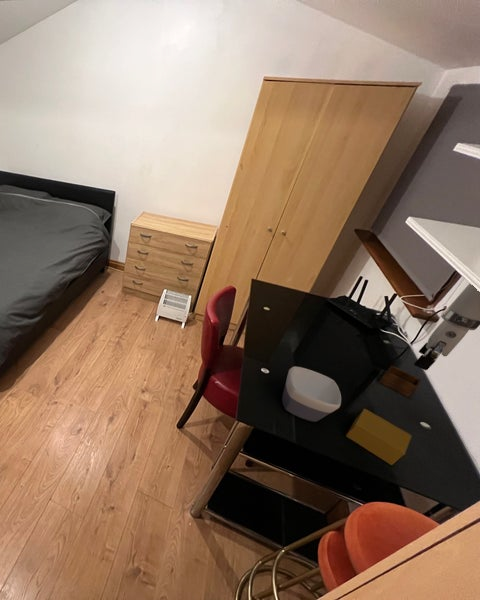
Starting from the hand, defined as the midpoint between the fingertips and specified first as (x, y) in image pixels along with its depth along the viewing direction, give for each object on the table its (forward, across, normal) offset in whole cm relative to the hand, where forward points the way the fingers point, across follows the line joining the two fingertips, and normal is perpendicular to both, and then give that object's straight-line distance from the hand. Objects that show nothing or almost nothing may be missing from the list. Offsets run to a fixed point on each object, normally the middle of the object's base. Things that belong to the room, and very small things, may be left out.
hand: (422, 360), depth 103 cm
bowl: (+22, -26, +19) cm, 39 cm away
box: (+22, -21, -2) cm, 31 cm away
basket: (+22, +17, -1) cm, 28 cm away
